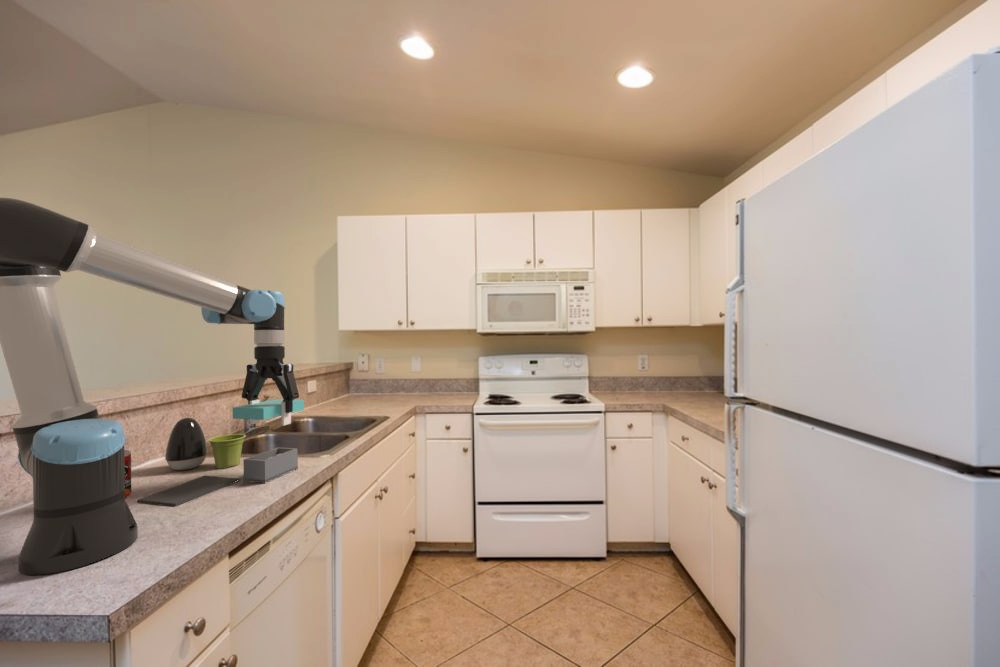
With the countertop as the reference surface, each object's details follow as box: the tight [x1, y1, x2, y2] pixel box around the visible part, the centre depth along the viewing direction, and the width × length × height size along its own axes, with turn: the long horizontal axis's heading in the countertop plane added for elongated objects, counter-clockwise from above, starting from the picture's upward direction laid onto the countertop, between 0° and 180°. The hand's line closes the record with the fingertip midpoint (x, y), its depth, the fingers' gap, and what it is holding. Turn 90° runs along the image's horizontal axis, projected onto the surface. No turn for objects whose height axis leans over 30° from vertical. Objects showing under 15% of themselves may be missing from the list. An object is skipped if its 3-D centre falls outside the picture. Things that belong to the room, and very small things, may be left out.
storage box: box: [242, 447, 299, 483], centre depth 114 cm, size 7×12×6 cm, turn 166°
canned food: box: [124, 449, 132, 499], centre depth 99 cm, size 8×8×11 cm
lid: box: [232, 398, 305, 421], centre depth 114 cm, size 10×15×3 cm, turn 166°
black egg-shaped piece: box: [164, 417, 209, 471], centre depth 123 cm, size 10×10×15 cm
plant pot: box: [208, 433, 247, 469], centre depth 124 cm, size 9×9×9 cm
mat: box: [136, 475, 240, 507], centre depth 103 cm, size 17×12×1 cm
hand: (270, 423), depth 114 cm, fingers closed on lid, 10 cm apart
